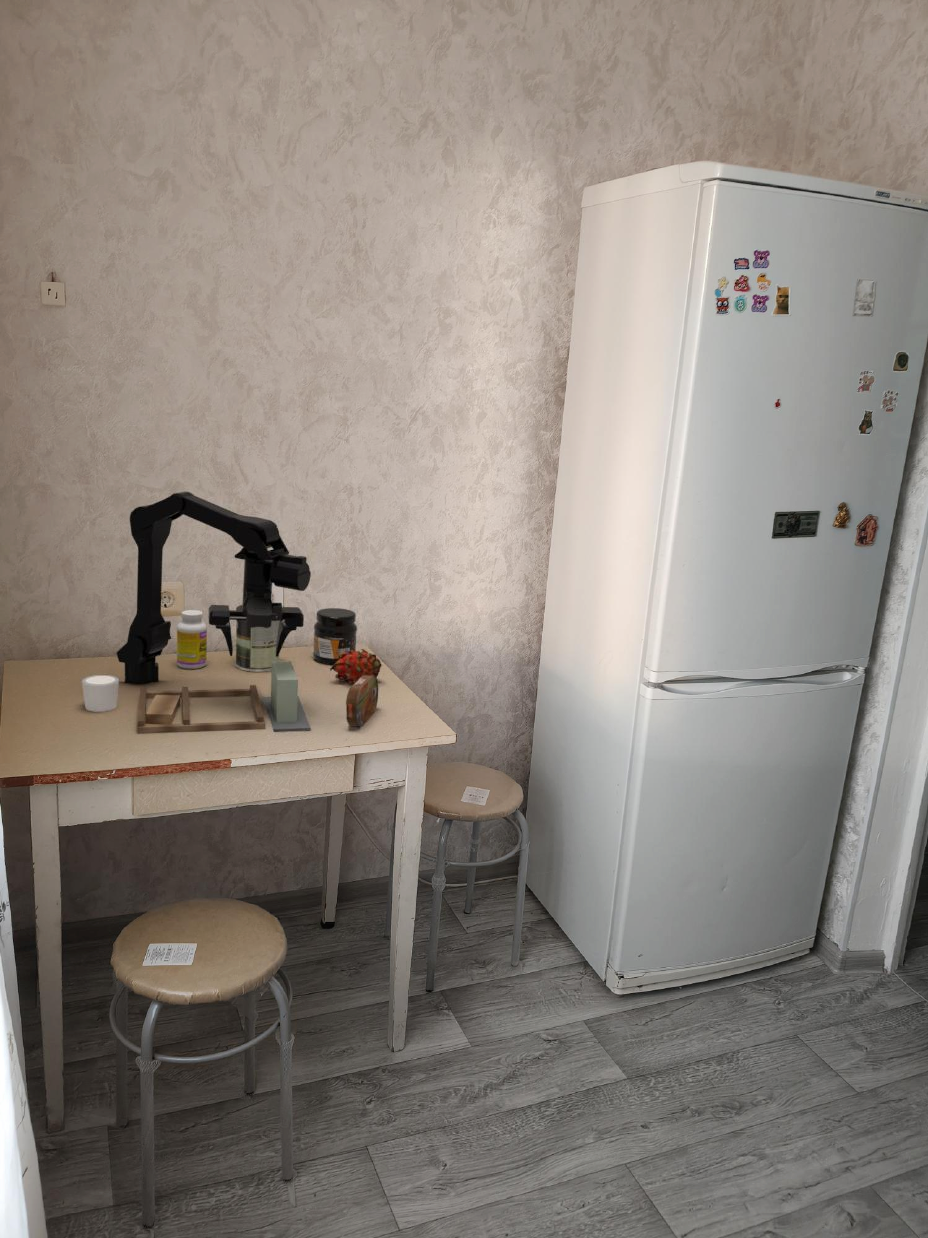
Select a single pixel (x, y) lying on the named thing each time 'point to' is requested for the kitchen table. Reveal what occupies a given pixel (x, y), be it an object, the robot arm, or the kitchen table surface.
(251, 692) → the rack
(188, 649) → the supplement bottle
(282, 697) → the pale green block
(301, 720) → the mat
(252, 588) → the robot arm
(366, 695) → the tin
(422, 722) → the kitchen table surface
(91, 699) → the white cup
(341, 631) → the supplement container
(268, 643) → the coffee can
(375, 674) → the dragon fruit
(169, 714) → the offcut short
